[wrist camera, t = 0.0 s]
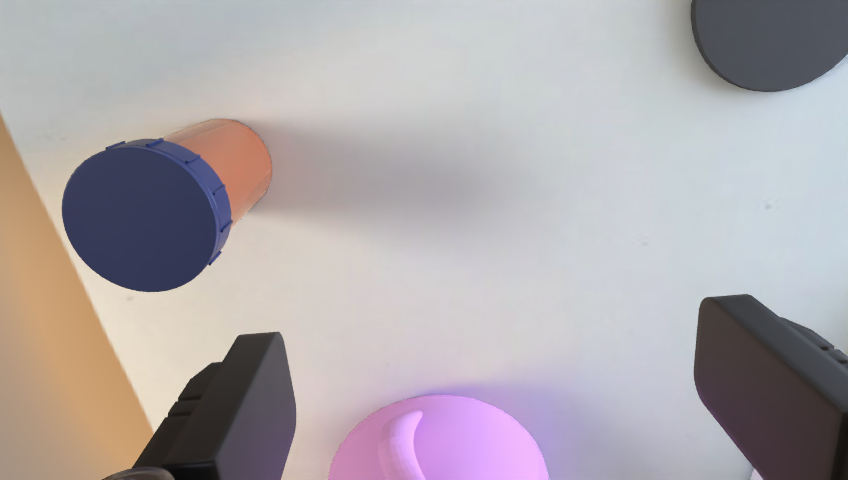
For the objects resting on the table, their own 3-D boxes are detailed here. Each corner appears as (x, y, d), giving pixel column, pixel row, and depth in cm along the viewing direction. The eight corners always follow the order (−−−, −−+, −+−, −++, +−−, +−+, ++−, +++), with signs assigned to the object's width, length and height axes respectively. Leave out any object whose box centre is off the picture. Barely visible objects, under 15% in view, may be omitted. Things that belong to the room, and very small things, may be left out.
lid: (71, 144, 22) (40, 154, 20) (216, 132, 22) (198, 140, 20) (110, 278, 24) (86, 298, 22) (243, 267, 24) (229, 286, 22)
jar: (168, 122, 30) (60, 159, 21) (263, 114, 30) (196, 147, 21) (189, 213, 31) (98, 284, 22) (279, 206, 31) (224, 274, 22)
